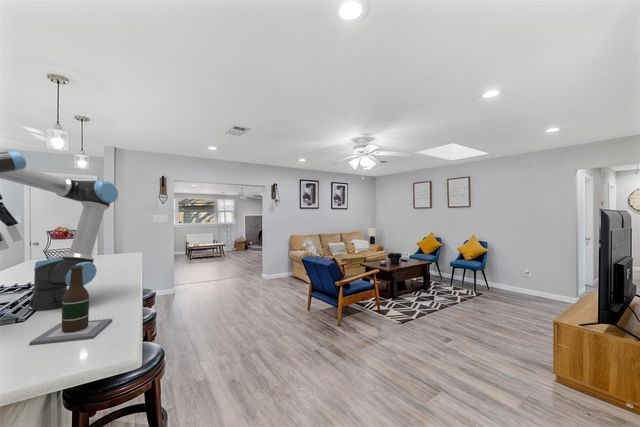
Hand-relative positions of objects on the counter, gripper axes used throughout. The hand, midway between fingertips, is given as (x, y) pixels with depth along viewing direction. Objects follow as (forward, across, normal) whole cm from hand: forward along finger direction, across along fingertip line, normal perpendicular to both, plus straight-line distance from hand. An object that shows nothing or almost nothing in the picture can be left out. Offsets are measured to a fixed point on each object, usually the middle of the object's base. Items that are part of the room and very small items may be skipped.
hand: (12, 244), depth 107 cm
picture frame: (+35, +20, +11) cm, 42 cm away
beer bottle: (+34, +20, +11) cm, 41 cm away
